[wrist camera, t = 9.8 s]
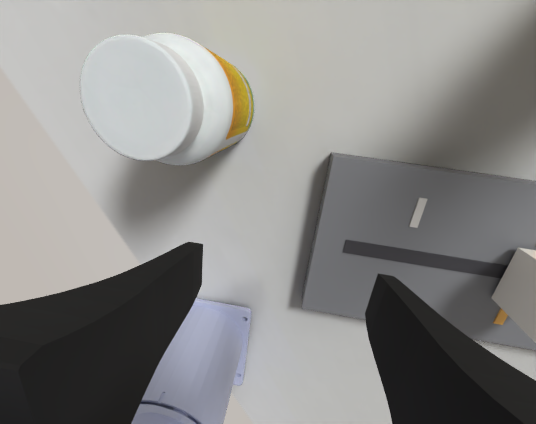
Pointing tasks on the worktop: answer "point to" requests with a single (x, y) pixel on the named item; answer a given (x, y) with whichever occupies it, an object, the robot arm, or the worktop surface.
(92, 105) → the supplement bottle
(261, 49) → the worktop surface
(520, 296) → the fader cap
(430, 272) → the fader console
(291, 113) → the worktop surface
